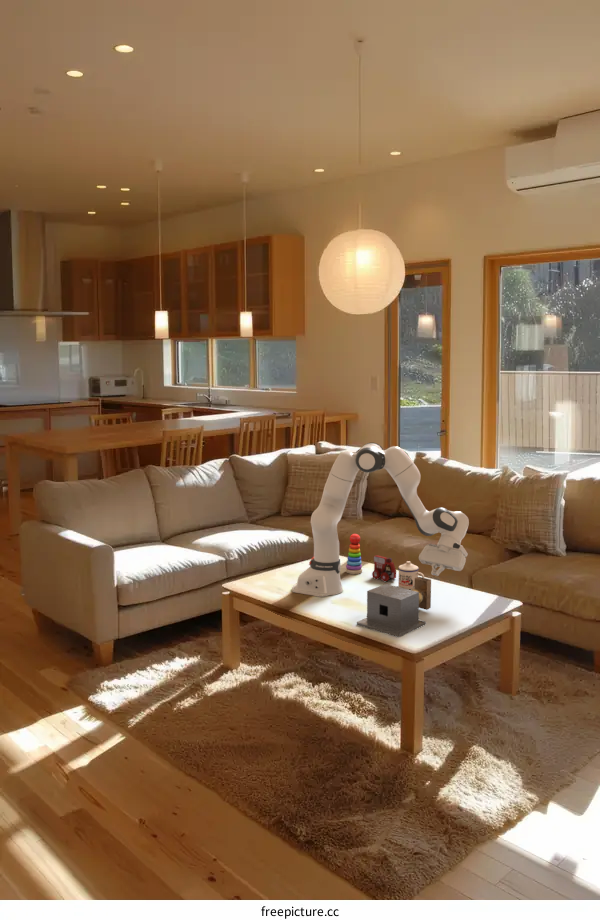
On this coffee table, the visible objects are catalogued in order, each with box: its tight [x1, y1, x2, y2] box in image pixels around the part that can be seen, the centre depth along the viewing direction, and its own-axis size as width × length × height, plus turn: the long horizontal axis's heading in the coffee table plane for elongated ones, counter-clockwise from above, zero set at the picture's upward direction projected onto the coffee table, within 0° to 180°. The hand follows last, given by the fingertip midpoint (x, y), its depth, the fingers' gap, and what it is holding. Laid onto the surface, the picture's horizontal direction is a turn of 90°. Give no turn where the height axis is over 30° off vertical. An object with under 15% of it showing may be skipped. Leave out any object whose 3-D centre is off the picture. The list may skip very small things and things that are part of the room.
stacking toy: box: [345, 533, 363, 575], centre depth 385 cm, size 8×8×19 cm
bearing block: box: [356, 583, 427, 638], centre depth 316 cm, size 18×20×13 cm
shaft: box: [411, 576, 432, 611], centre depth 325 cm, size 21×6×12 cm, turn 137°
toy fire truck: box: [371, 554, 397, 582], centre depth 375 cm, size 7×12×10 cm, turn 45°
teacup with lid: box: [397, 560, 425, 590], centre depth 363 cm, size 12×9×12 cm
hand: (434, 574), depth 337 cm, fingers closed
